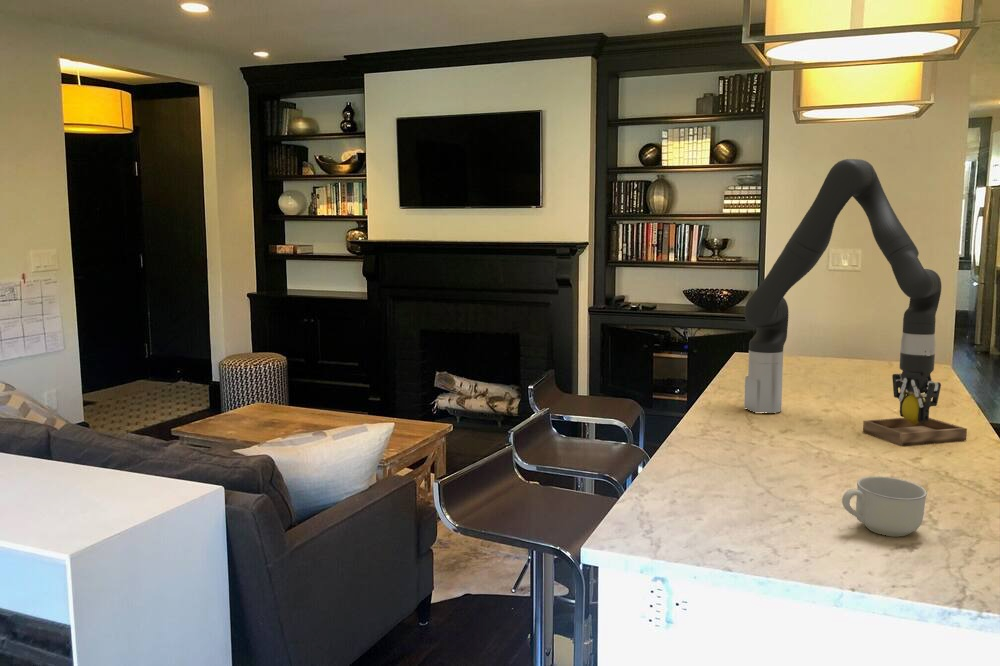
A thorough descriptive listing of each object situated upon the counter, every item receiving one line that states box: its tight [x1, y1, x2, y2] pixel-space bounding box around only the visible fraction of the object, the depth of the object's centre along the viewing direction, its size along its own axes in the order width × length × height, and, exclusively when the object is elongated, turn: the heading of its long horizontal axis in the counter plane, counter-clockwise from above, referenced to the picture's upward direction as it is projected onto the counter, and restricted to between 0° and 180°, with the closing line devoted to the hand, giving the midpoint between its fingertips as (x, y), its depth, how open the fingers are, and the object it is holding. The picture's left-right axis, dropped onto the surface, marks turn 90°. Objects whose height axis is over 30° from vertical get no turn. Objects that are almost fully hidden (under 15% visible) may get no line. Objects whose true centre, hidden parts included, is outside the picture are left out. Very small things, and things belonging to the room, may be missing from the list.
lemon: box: [902, 393, 925, 425], centre depth 202 cm, size 6×6×8 cm
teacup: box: [841, 475, 928, 538], centre depth 140 cm, size 14×11×8 cm
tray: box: [862, 417, 968, 447], centre depth 202 cm, size 18×14×3 cm
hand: (913, 419), depth 202 cm, fingers closed on lemon, 5 cm apart
